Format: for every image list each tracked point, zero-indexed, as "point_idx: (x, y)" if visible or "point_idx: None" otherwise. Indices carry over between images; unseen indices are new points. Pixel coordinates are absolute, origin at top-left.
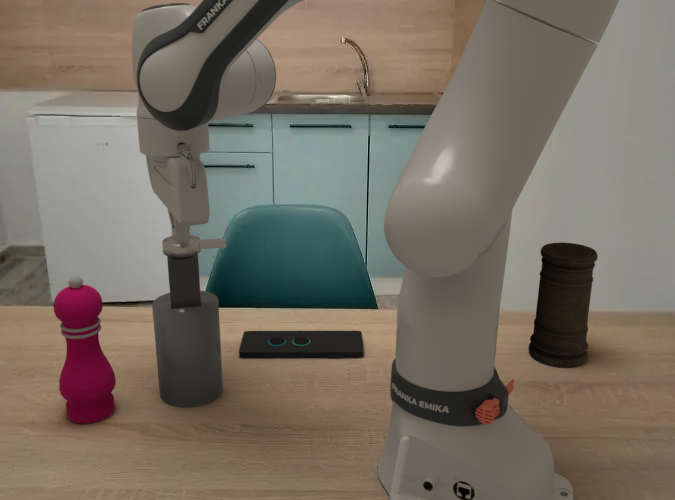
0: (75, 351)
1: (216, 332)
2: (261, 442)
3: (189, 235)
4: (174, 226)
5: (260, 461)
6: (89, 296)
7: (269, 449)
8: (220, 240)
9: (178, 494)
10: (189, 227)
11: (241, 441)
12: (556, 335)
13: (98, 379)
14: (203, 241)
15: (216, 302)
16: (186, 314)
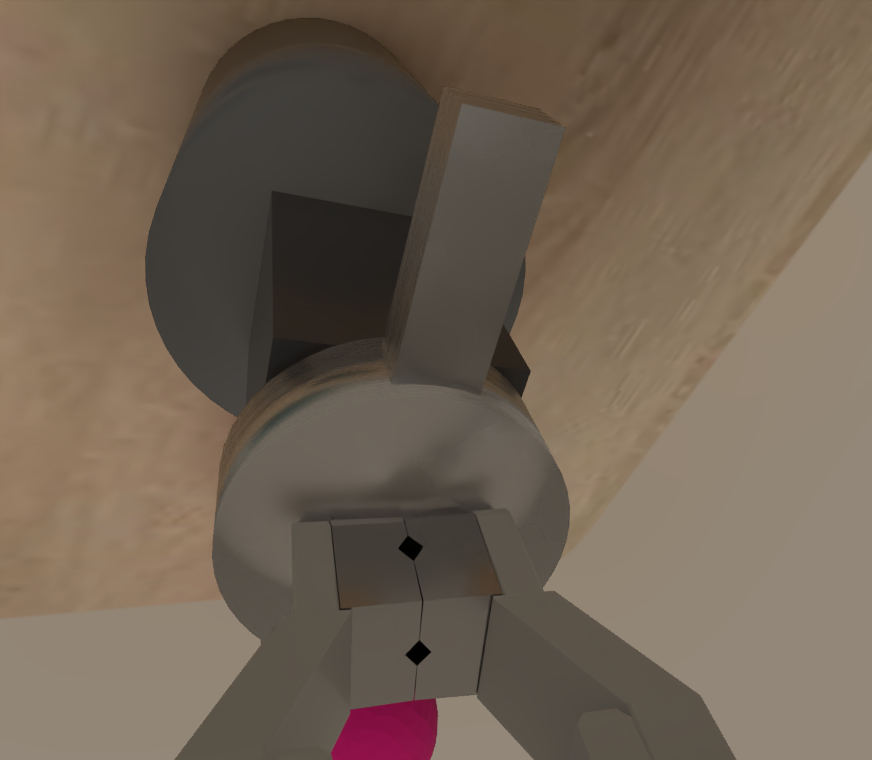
0: None
1: None
2: (722, 22)
3: (522, 543)
4: (350, 693)
5: (794, 63)
6: (412, 736)
7: (766, 12)
8: (524, 186)
9: (767, 291)
10: (582, 614)
11: (680, 80)
12: None
13: None
14: (468, 361)
15: (430, 121)
16: (513, 315)
